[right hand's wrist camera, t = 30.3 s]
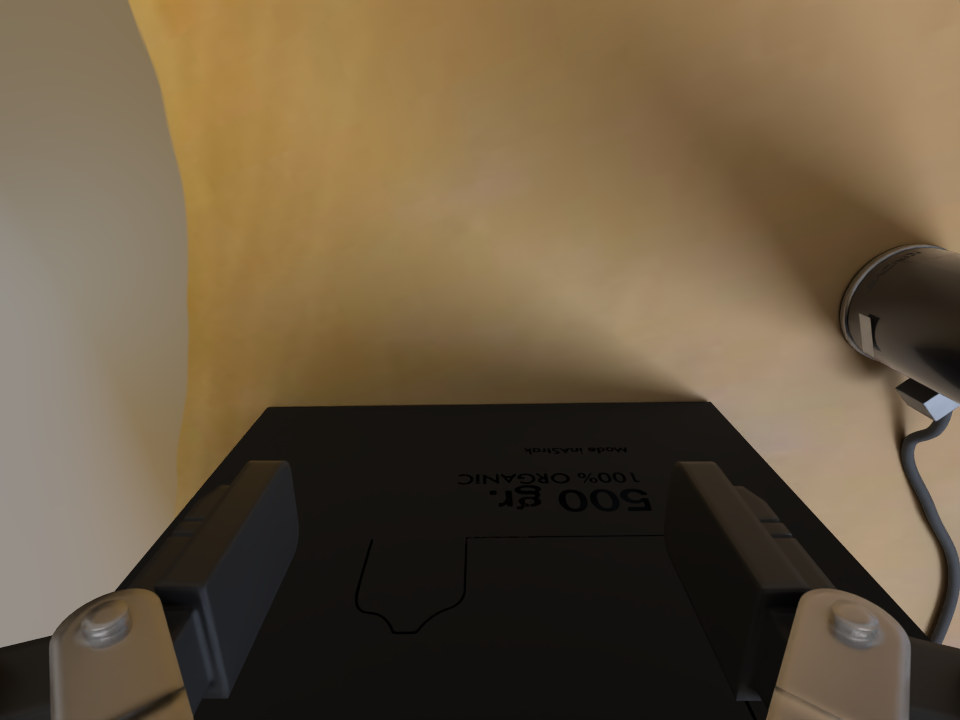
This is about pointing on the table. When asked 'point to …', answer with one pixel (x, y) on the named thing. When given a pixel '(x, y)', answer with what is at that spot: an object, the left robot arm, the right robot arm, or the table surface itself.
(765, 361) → the table surface
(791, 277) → the table surface
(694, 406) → the cardboard box
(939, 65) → the table surface
